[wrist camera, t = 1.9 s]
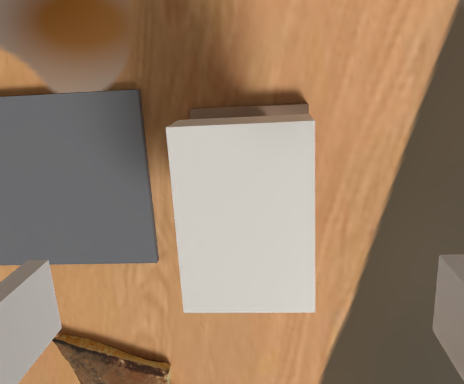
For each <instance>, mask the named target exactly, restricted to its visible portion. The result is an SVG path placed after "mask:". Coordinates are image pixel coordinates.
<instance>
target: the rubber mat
mask: <svg viewBox="0 0 464 384" xmlns="http://www.w3.org/2000/svg"><path fill="white" fill-rule="evenodd" d="M27 260H49V264H115V263H157V262H158V260H159V257H158V248H157V239H156V230H155V221H154V212H153V203H152V194H151V185H150V176H149V167H148V158H147V149H146V140H145V131H144V123H143V114H142V105H141V96H140V89H134V90H116V91H97V92H79V93H60V94H41V95H23V96H4V97H0V265H22V264H24V263H25V262H26V261H27Z"/></svg>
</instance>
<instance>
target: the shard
mask: <svg viewBox="0 0 464 384" xmlns="http://www.w3.org/2000/svg"><path fill="white" fill-rule="evenodd" d="M52 341H53V342H54V343H55V344H56V345H57V347H58V349H59V350H60V351H61V353H62V355H63V356H64V357H65V359H66V360H67V361H68V362H69V363H70V365H71V367H72V369H73V370H74V372H75V374H76V375H77V377H78V379H79V381H80V383H81V384H170V371H171V364H168V363H166V362H155V361H150V360H144V359H142V358H140V357H138V356H135V355H132V354H128V353H125V352H123V351H121V350H118V349H116V348H113V347H110V346H107V345H104V344H102V343H99V342H95V341H93V340H90V339H87V338H83V337H75V336H71V335H60V337H59V338H58V337H54V339H53V340H52Z"/></svg>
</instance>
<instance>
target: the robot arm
mask: <svg viewBox="0 0 464 384" xmlns="http://www.w3.org/2000/svg"><path fill="white" fill-rule="evenodd" d="M61 328H62V326H61V321H60V316H59V311H58V306H57V301H56V296H55V290H54V285H53V280H52V275H51V270H50V265H49V260H27V261H26V262H25V263H24V264H22V265H21V266H20V267H19V268H17V269H16V270H15V271H14V272H13V273H11V274H10V275H9V276H8V277H6V278H5V279H4V280H3V281H1V282H0V384H18V383H19V381H20V380H21V379H22V378H23V376H24V375H25V374H26V373H27V371H28V370H29V369H30V368H31V366H32V365H33V364H34V362H35V361H36V360H37V359H38V357H39V356H40V355H41V354H42V352H43V351H44V350H45V349H46V347H47V346H48V345H49V344H50V342H51V341H52V340H53V339H54V337H55V336H56V335H57V333H58V332H59V331H60V330H61ZM433 331H434V333H435V335H436V336H437V338H438V340H439V341H440V343H441V345H442V346H443V348H444V349H445V351H446V353H447V354H448V356H449V358H450V359H451V361H452V363H453V364H454V366H455V368H456V369H457V371H458V373H459V374H460V376H461V377H462V379H463V381H464V255H439V264H438V275H437V286H436V299H435V308H434V320H433Z"/></svg>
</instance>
